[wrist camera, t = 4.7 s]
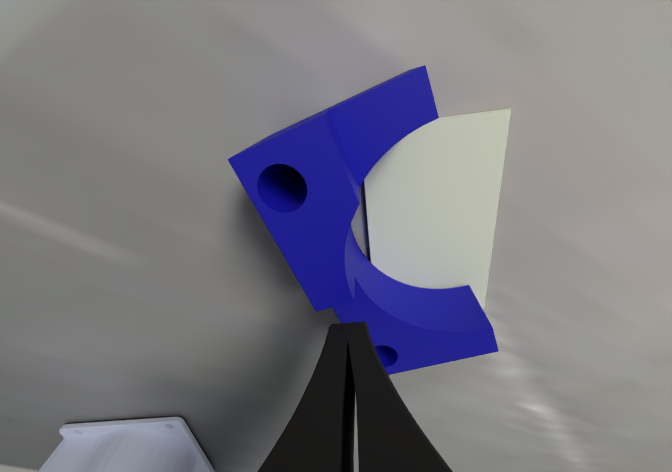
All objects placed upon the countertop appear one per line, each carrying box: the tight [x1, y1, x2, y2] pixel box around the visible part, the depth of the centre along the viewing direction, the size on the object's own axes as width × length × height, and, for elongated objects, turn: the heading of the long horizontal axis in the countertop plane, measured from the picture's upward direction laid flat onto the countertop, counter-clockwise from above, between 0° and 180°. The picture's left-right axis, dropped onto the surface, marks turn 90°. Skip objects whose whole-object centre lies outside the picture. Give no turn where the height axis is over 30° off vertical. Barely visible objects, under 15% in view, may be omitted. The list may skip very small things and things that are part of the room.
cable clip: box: [228, 66, 498, 375], centre depth 12 cm, size 12×4×6 cm
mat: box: [364, 109, 511, 311], centre depth 15 cm, size 6×14×1 cm, turn 7°
